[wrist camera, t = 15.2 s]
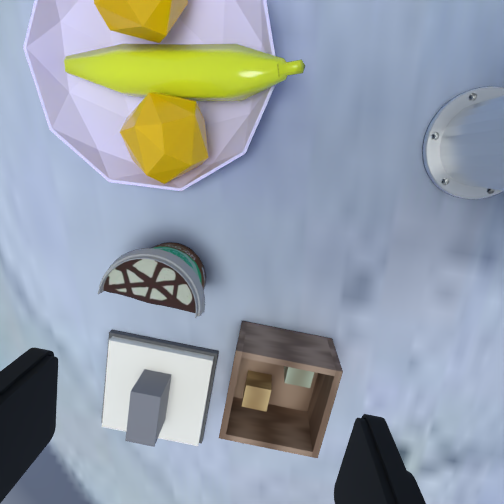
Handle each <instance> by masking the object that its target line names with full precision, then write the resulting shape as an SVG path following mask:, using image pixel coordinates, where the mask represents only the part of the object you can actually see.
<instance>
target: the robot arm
mask: <svg viewBox="0 0 504 504" xmlns="http://www.w3.org/2000/svg"><path fill="white" fill-rule="evenodd" d="M469 96H470V97H471V99H470V100H469ZM432 134H433V135H434V138H433V139H432V138H431V135H432ZM423 160H424V164H425V168H426V171H427V173H428V175H429V177H430V178H431V180H432V181H433V182H434V184H435V185H436V186H437V187H439V188H440V189H441V190H442V191H444V192H446V193H448V194H450V195H452V196H455V197H459V198H464V199H482V198H488V197H491V196H494V195H496V194H499V193H501V192H503V191H504V88H503V87H494V86H488V87H480V88H476V89H473V90H470V91H467V92H465V93H462V94H460V95H458V96H457V97H455V98H453V99H452V100H450V101H449V102H448V103H447V104H446V105H445V106H443V107H442V108H441V109H440V110H439V112H438V113H437V114H436V115H435V117H434V118H433V120H432V122H431V123H430V125H429V127H428V130H427V132H426V135H425V138H424V145H423ZM442 179H443V180H444V182H443V183H441V182H442ZM487 189H488V191H487ZM57 377H58V358H57V357H54V353H53V352H52V351H49V350H44V349H39V348H31V349H29V350H28V351H26V352H25V353H24V354H23V355H21V356H20V357H19V358H17V359H16V360H15V361H13V362H12V363H11V364H10V365H8V366H7V367H6V368H4V369H3V370H2V371H0V503H1V502H2V500H3V499H4V498H5V496H6V495H7V494H8V493H9V492H10V490H11V489H12V488H13V487H14V485H15V484H16V483H17V482H18V480H19V479H20V478H21V477H22V475H23V474H24V473H25V472H26V470H27V469H28V468H29V467H30V465H31V464H32V463H33V462H34V460H35V459H36V458H37V457H38V455H39V454H40V453H41V452H42V450H43V449H44V448H45V447H46V445H47V444H48V443H49V442H50V440H51V439H52V437H53V434H54V432H55V425H56V401H57ZM334 500H335V504H426V503H425V501H424V498H423V496H422V494H421V491H420V489H419V487H418V485H417V482H416V480H415V478H414V477H413V475H412V474H411V473H410V472H408V471H407V470H406V468H405V466H404V463H403V461H402V459H401V456H400V454H399V452H398V449H397V447H396V444H395V442H394V440H393V437H392V435H391V433H390V430H389V428H388V426H387V423H386V421H385V419H384V418H382V417H377V416H372V415H367V414H364V415H363V416H362V418H357V419H356V421H355V423H354V426H353V430H352V433H351V436H350V439H349V442H348V445H347V449H346V452H345V455H344V458H343V461H342V464H341V468H340V471H339V474H338V477H337V480H336V483H335V488H334Z"/></svg>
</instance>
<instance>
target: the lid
mask: <svg viewBox="0 0 504 504" xmlns="http://www.w3.org/2000/svg"><path fill="white" fill-rule="evenodd" d="M213 360H214V356H211V355H206V354H201V353H196V352H191V351H185V350H180V349H175V348H170V347H165V346H160V345H155V344H150V343H145V342H140V341H135V340H130V339H125V338H120V337H115V336H112V337H111V339H110V340H109V346H108V358H107V370H106V382H105V394H104V407H103V419H102V427H106V428H111V429H116V430H120V431H125V432H126V440H125V441H129V442H134V443H139V444H143V445H148V446H153V447H154V446H155V443H156V441H157V439H158V438H160V439H165V440H170V441H175V442H180V443H185V444H190V445H195V446H198V444H199V441H200V435H201V429H202V424H203V418H204V412H205V406H206V401H207V395H208V389H209V383H210V378H211V372H212V366H213Z"/></svg>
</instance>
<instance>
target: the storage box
mask: <svg viewBox="0 0 504 504" xmlns="http://www.w3.org/2000/svg"><path fill="white" fill-rule="evenodd" d="M284 366H286V367H291V368H296V369H301V370H306V371H311V372H314V375H313V379H312V383H311V387H310V388H307V387H302V386H297V385H292V384H287V383H285V382H284ZM248 370H250V371H255V372H260V373H265V374H270V375H272V383H271V394H270V398H269V403H268V407H267V411H261V410H256V409H251V408H246V407H242V400H243V393H244V387H245V382H246V377H247V373H248ZM342 373H343V371H342V368H341V365H340V362H339V359H338V355H337V352H336V349H335V346H334V343H333V340H332V339H331V338H326V337H321V336H316V335H311V334H306V333H301V332H296V331H291V330H286V329H281V328H276V327H271V326H266V325H261V324H256V323H251V322H246V321H242V323H241V328H240V333H239V337H238V342H237V347H236V352H235V357H234V363H233V368H232V373H231V378H230V383H229V388H228V393H227V399H226V404H225V409H224V414H223V419H222V424H221V429H220V435H219V438H221V439H226V440H230V441H235V442H240V443H245V444H250V445H255V446H260V447H265V448H270V449H275V450H280V451H285V452H290V453H294V454H299V455H304V456H309V457H314V458H318V455H319V451H320V448H321V445H322V441H323V438H324V434H325V431H326V427H327V424H328V421H329V417H330V414H331V410H332V407H333V404H334V400H335V397H336V393H337V390H338V386H339V383H340V380H341V376H342Z"/></svg>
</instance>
